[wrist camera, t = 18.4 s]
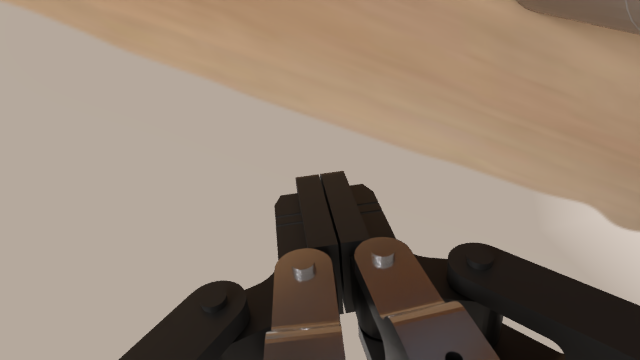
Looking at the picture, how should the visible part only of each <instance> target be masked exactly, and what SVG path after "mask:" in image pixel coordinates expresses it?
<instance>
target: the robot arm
mask: <svg viewBox="0 0 640 360" xmlns="http://www.w3.org/2000/svg"><path fill="white" fill-rule="evenodd" d="M517 2H518V3H519V4H521V5H522V6H523V7H524V8H526V9H529V10H531V11H535V12H539V13H544V14H548V15H553V16H557V17H561V18H565V19H570V20H574V21H579V22H584V23H588V24H593V25H597V26H602V27H606V28H611V29H615V30H620V31H625V32H629V33H634V34H638V35H640V0H517ZM296 186H297V193H296V194H289V195H282V196H280V198H279V199H278V201H277V203H276V204H275V217H276V232H277V246H278V262H277V264H276V266H275V270H274V273H273V274H272V275H271V276H270V277H269V278H268V279H266V280H265V281H263V282H262V283H260V284H258V285H256V286H253V287H251V288H248V289H246V290H244V289H243V288H242V287H241V286H240V285H239V284H236V283H235V282H231V281H216V282H211V283H208V284H206V285H204V286H201V287H200V288H198V289H197V290H195V291H194V292H193V293H192V294H191V295H189V296H188V297H187V298H186V299H185V300H184V301H183V302H182V303H181V304H179V305H178V306H177V307H176V308H175V309H174V310H173V311H172V312H171V313H169V314H168V315H167V316H166V317H165V318H164V319H163V320H162V321H161V322H160V323H159V324H157V325H156V326H155V327H154V328H153V329H152V330H151V331H150V332H149V333H148V334H146V335H145V336H144V337H143V338H142V339H141V340H140V341H139V342H138V343H136V345H134V346H133V347H132V348H131V349H130V350H129V351H128V352H127V353H126V354H124V355H123V356H122V357H121V358H120V359H119V360H345V352H344V344H343V336H342V330H341V324H340V314H344V313H343V303H344V307H345V310H346V313H350V312H356V315H357V319H358V329H359V338H360V341H361V343H362V346H363V349H364V352H365V354H366V357H367V360H640V306H639V305H637V304H634V303H632V302H629V301H627V300H624V299H622V298H619V297H617V296H614V295H612V294H609V293H607V292H604V291H602V290H599V289H597V288H594V287H592V286H589V285H587V284H584V283H582V282H579V281H577V280H575V279H572V278H569V277H567V276H565V275H562V274H559V273H557V272H555V271H552V270H550V269H547V268H545V267H542V266H539V265H537V264H535V263H532V262H530V261H527V260H525V259H522V258H520V257H517V256H515V255H513V254H510V253H508V252H505V251H503V250H500V249H498V248H495V247H492V246H490V245H486V244H482V243H465V244H461V245H458V246H457V247H455V248H453V249H452V250H451V252H450V253H449V255H448V259H439V258H427V257H422V256H417V255H415V254H413V253H412V251H411V250H410V249H409V247H408V246H407V245H406V244H405V243H403V242H402V241H399V240H397V239H396V238H395V236H394V234H393V232H392V230H391V227H390V226H389V224H388V221H387V219H386V217H385V215H384V213H383V211H382V209H381V207H380V205H379V203H378V201H377V199H376V197H375V194H374V192H373V191H372V190H370V189H369V188H367V187H366V186H364V185H363V184H359V185H351V186H349V184H348V181H347V178H346V176H345V174H344V171H340V172H332V173H324V174H320V177H319V175H311V176H304V177H297V178H296ZM342 299H343V300H342ZM503 316H505V317H507V318H509V319H511V320H513V321H515V322H517V323H519V324H521V325H523V326H525V327H527V328H529V329H531V330H533V331H535V332H537V333H539V334H541V335H543V336H545V337H547V338H549V339H550V340H552V341H554V342H555V343H556V344H557V345H558V346H559V347H560V348H561V349H562V351H563V352H564V354H562V353H559V352H557V351H555V350H553V349H551V348H549V347H547V346H545V345H543V344H542V343H540V342H538V341H536V340H534V339H532V338H530V337H528V336H526V335H524V334H522V333H520V332H518V331H516V330H514V329H513V328H510V327H509V326H507V325H505V324H503V323H502V320H503Z"/></svg>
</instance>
